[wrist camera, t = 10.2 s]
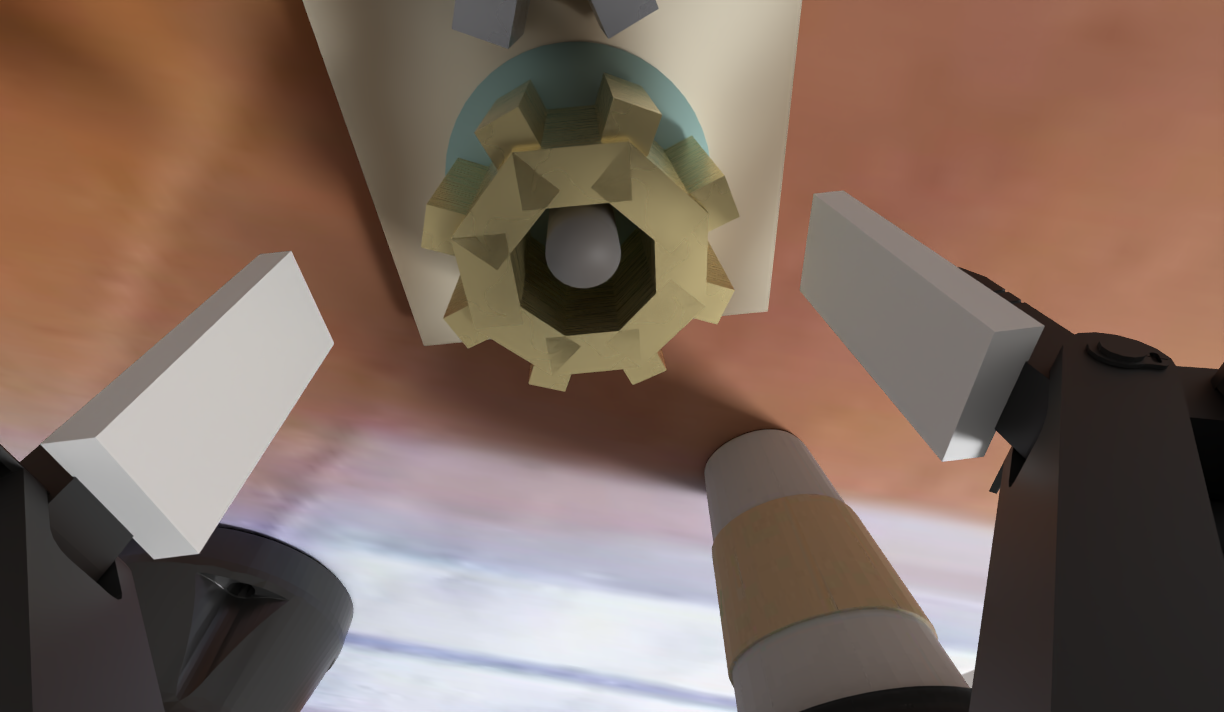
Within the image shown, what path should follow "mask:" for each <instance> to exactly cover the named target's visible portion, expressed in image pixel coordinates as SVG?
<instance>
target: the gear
mask: <svg viewBox="0 0 1224 712" xmlns="http://www.w3.org/2000/svg"><path fill="white" fill-rule="evenodd" d="M661 117H662V114H661V112H660V111H659V110H658V108H657V107H656V105H655V104H654V103H653V101H652V100H651V98H650V97H649V96H648V94H647V93H646V91H645V90H644V89H643V87H642V86H640V85H637V84H635V83H632V82H629V81H626V80H624V79H621V78H618V77H615V76H613V75H610V74H607V73H604V74H603V77H602V81H601V84H600V88H599V91H598V95H597V98H596V102H595V105H587V106H577V107H566V108H555V109H546V107H545V105H544V103H543V101H542V100H541V98H540V96H539V94H538V92H537V90H536V88H535V87H534V85H533V83H532V81H531V79H530V80H528V81H527V82H525V83H523V84H522V85H520V86H518V87H517V88H515V89H513V90H512V91H510V92H508V93H507V94H505V95H503V96H502V97H500V98H498V99H497V100H496V101H495V103H494V104H493V106H492V107H491V108H490V110H489V111H488V113H487V114H486V116H485V117H484V119H483V120H482V122H481V123H480V125H479V126H478V128H477V129H476V130H475V132H474V133H475V135H476V137H477V138H478V140H479V141H480V143H481V145H482V146H483V148H484V149H485V151H486V153H487V154H488V156H489V157H490V159H491V160H492V162H491V164H490V165H489V166H485V165H481V164H478V163H475V162H471V161H468V160H465V159H461V158H457V160H456V161H455V163H454V164H453V166H452V167H451V169H450V170H449V172H448V173H447V175H446V176H445V177H444V179H443V180H442V182H441V183H440V185H439V186H438V188H437V189H436V191H435V192H434V194H433V195H432V197H431V198H430V200H429V201H428V203H427V204H426V212H425V220H424V227H423V235H422V243H421V248H425V249H429V250H433V251H437V252H441V253H444V254H448V255H452V256H455V257H456V261H457V265H458V268H459V272H460V276H459V279H458V281H457V284H456V286H455V289H454V292H453V294H452V297H451V299H450V302H449V304H448V307H447V309H446V312H445V315H444V317H443V319H444V320H445V322H446V323H447V324H448V325H449V326H450V328H451V329H452V330H453V331H454V332H455V334H456V335H457V336H458V337H459V338H460V340H461V341H462V342H463V343H464V344H465V346H466V347H467V348H468V349H469V348H471V347H473V346H475V345H477V344H479V343H481V342H483V341H485V340H487V339H489V338H490V339H492V340H494V341H495V342H497V343H499V344H500V345H502V346H504V347H505V348H507V349H508V350H510V351H512V352H513V353H515V354H517V355H518V356H520V357H522V358H523V359H525V360H527V361H528V362H530V363H531V365H530V374H529V383H528V384H531V385H535V386H540V387H545V388H550V389H554V390H559V391H564V392H565V391H566V388H567V385H568V382H569V379H570V377H571V374H579V373H589V372H599V371H610V370H620V369H623V370H624V372H625V374H626V375H627V377H628V378H629V380H630V382H631V383H632V385H634V384H636V383H639V382H641V381H643V380H646V379H648V378H650V377H653V376H655V375H657V374H660V373H662V372H664V371H667V369H666V365H665V361H664V357H663V353H662V349H661V348H662V347H663V346H664V345H665V344H666V343H667V342H669V341H670V340H671V339H672V338H673V337H674V336H675V335H676V334H677V333H678V332H679V331H680V330H681V329H682V328H683V327H684V326H686V325H687V324H688V323H689V322H690V321H691V320H692V319H693V318H695V319H699V320H702V321H706V322H710V323H714V324H718V322H719V320H720V318H721V316H722V314H723V312H724V310H725V308H726V306H727V304H728V303H729V301H730V299H731V297H732V295H733V293H734V291H735V289H734V288H733V286H732V284H731V282H730V280H729V278H728V277H727V275H726V273H725V271H724V269H723V267H722V265H721V264H720V262H719V260H718V258H717V256H716V254H715V253H714V251H713V249H712V247H711V245H710V243H709V241H708V232H709V231H712V230H714V229H716V228H718V227H720V226H722V225H724V224H726V223H728V222H730V221H732V220H734V219H736V218H738V217H740V215H739V213H738V210H737V207H736V205H735V202H734V199H733V196H732V194H731V191H730V188H729V186H728V183H727V180H726V178H725V175H724V174H723V173H722V172H721V170H720V169H719V168H718V167H717V166H716V164H715V163H714V162H713V161H712V159H711V158H710V157H709V156H708V155H707V153H706V152H705V151H704V150H703V148H702V147H701V146H700V145H699V144H698V142H697V141H696V140H695V139H694V137H693V136H692V135H691V136H689V137H688V138H686V139H684V140H682V141H680V142H678V143H676V144H674V145H673V146H671V147H669V148H667V149H665V150H664V149H663V148H662V147H661V146H660V145H659V144H658V143H657V142H656V141H655V140H654V137H655V134H656V131H657V129H658V126H659V123H660V120H661ZM600 203H610V204H611V205H612V206H614V207H615V208H616V209H617V210H618V211H620V212H621V213H622V214H623V215H624V216H626V217H627V218H628V219H629V220H630V221H632V222H633V223H634V224H635V225H637V226H638V227H637V228H636V229H635V230H634V231H633V232H632V234H631V235H630V236H629V237H628V238H627V239H626V240H625V241H624V242H623V243H622V245H621V246H620V249H621V258H620V262H619V265H618V268H617V270H616V271H615V273H614V274H613V275H612V276H611V277H610V278H609V279H608V280H607V281H605V282H604V283H602V284H600V285H598V286H595V287H591V288H576V287H572V286H569V285H566V284H564V283H563V282H561V281H560V280H558V279H557V278H556V277H555V276H554V275H553V274H552V272H551V271H550V269H549V267H548V265H547V262H546V256H545V250H546V247H545V246H544V245H542V244H541V243H540V242H538V241H537V240H535V239H534V238H533V237H532V235H531V230H530V228H531V227H532V226H533V224H534V223H535V222H536V221H537V219H538V218H539V217H540V216H541V214H542V213H543V212H544V211H545V209H548V208H559V207H569V206H579V205H590V204H600Z"/></svg>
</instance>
